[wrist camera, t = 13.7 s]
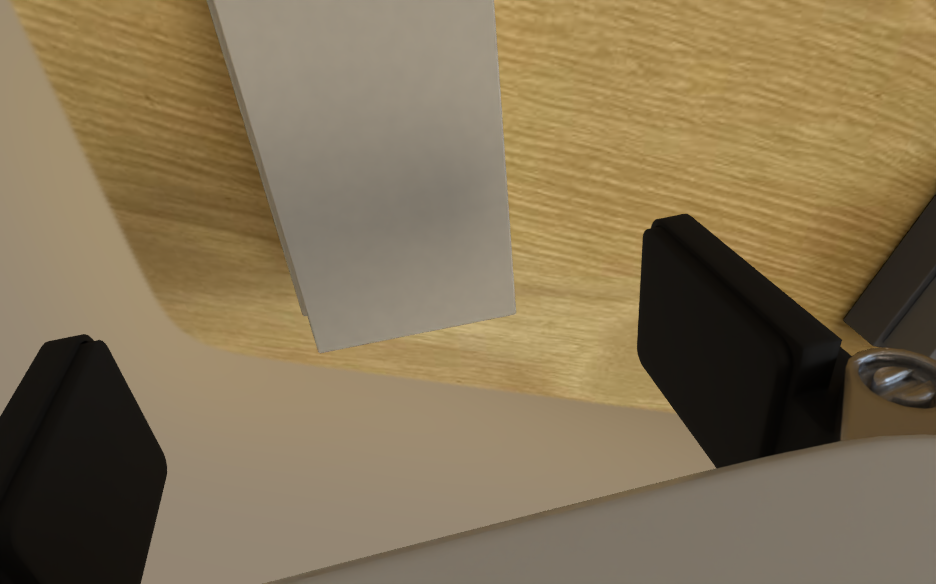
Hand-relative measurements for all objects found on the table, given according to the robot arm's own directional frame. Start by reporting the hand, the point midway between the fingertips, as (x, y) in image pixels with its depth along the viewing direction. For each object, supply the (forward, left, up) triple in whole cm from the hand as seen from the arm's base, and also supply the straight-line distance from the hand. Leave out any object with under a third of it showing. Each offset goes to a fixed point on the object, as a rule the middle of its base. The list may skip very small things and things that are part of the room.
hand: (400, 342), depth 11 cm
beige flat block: (+1, 0, -10) cm, 10 cm away
